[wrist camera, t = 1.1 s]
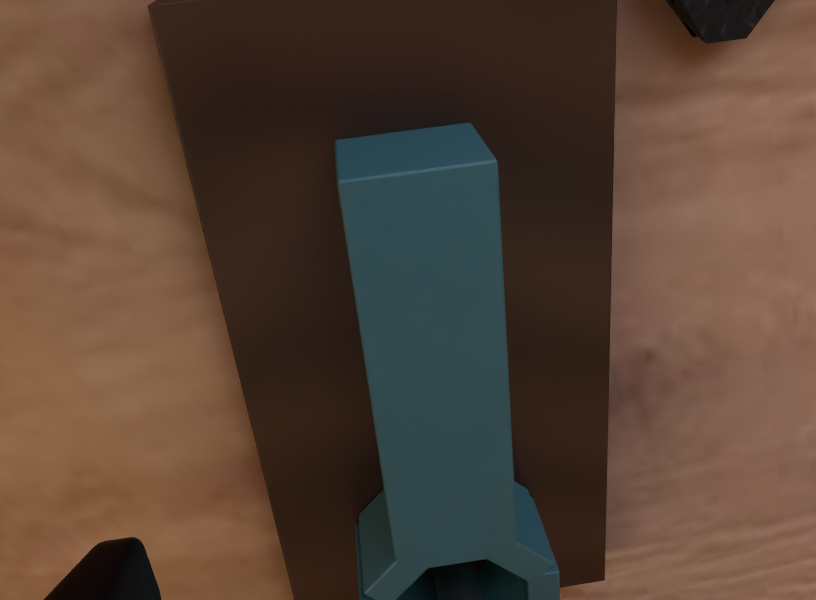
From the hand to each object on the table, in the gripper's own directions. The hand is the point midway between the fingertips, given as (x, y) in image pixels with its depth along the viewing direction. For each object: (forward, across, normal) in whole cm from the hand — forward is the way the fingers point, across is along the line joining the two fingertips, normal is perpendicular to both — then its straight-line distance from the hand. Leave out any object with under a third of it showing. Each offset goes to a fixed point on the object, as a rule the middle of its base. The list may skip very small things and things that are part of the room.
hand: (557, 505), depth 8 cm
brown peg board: (+12, 0, +5) cm, 13 cm away
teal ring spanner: (+11, 0, +6) cm, 13 cm away
